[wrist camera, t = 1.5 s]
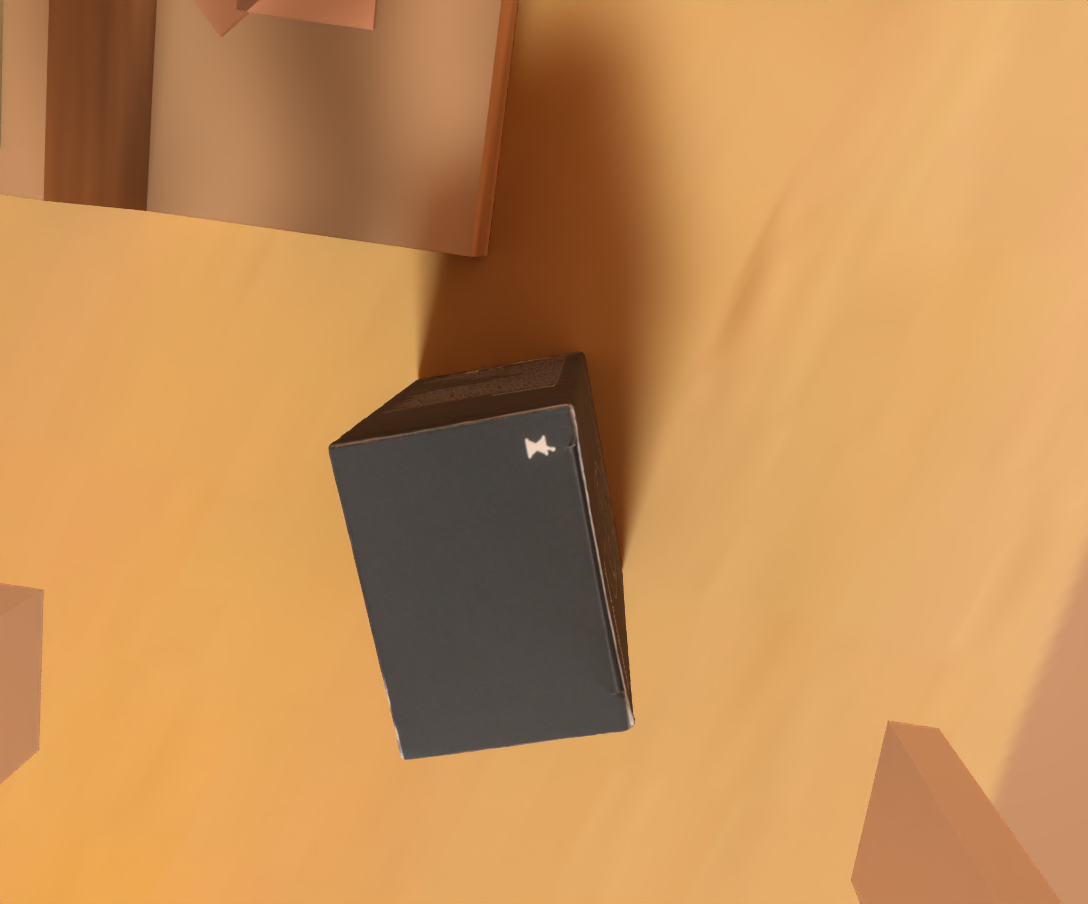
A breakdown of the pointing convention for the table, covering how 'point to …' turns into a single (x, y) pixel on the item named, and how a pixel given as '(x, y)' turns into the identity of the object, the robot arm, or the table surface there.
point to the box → (489, 558)
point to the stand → (263, 112)
